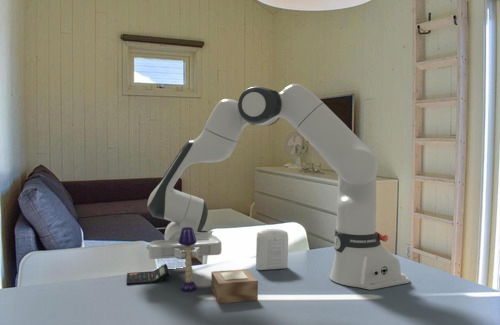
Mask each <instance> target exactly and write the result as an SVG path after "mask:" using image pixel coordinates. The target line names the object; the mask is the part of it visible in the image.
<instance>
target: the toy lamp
mask: <svg viewBox="0 0 500 325" xmlns="http://www.w3.org/2000/svg"><path fill="white" fill-rule="evenodd" d="M195 243H196V238H195V234H194V231H193V228H191V227H185V228H182V230H181V234H180V238H179V244H181V245H185V254H186V255H185V259H184V260H185V262H184V265H185V267H184V270H185V282H183V284H182V285H181V287H180V290H181V291H182V292H187V293H189V292H194V291H197V289H198V286H197V284H196V283H195V282H194V281H193V277H192V276H193V267H192V264H193V261H192V259H193V258H192V256H191V252H192V251H191V245H193V244H195Z"/></svg>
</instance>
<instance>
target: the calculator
mask: <svg viewBox="0 0 500 325" xmlns="http://www.w3.org/2000/svg"><path fill="white" fill-rule="evenodd" d="M126 273H127V274H126V286H135V285H151V284H157V283H160V282H161V281H162V280H165V279H166V278H168V277H170V276H171V275H170V271H169V268H168V265H167V263H164V264H162V265H161V266H160V267H159V266H158V268H156V269H155V270H153V271H152V270H151V271H137V272H126Z"/></svg>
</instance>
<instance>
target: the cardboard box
mask: <svg viewBox="0 0 500 325" xmlns="http://www.w3.org/2000/svg"><path fill="white" fill-rule="evenodd" d="M210 281H211V285H210V286H211V288H210V291H211V292H212V293H213V294H212V295H213V296H214V298H215V300H216V301H217V304H220V305H221V304H231V303H241V302H251V301H252V302H253V301H258V300H259V297H258V296H259V293H258V292H259V289H258V288H259V281H258V279H257V278H256V277H255V276H254V274H252V273H251V271H250V270H249V269H248V268H246V269H245V268H242V269H233V270H232V269H230V270H218V271H217V270H216V271H215V270H214V271H211V280H210Z"/></svg>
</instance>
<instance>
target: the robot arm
mask: <svg viewBox="0 0 500 325" xmlns="http://www.w3.org/2000/svg"><path fill="white" fill-rule="evenodd" d="M280 119H284V120H286V121H287V123H289V124H290V125H291V126H292V127H293V129H295V130H296V131H297V132H298V133H299V134H300V135H301V136H302V137H303V138H304V139H305V140H306V141H307V142H308V143H309V144H310V145H311V146H312V148H314V150H315V151H316V152H317V153H318V154H319V155H320V157H321V158H323V160H324V161H325V162H326V164H328V165H329V167H330V168H331V169H332V170H333V171H334V172H335V173H336V175H337V176H338V178H337V197H336V227H335V230H334V242H333V243H334V246H333V247H334V258H333V263H332V266H331V267H332V268H331V271H330V274H329V279H330V280H331V281H333V282H334V283H337V284H340V285H343V286H348V287H354V288H361V289H366V290H370V291H371V290H377V289H383V288H387V287H392V286H399V285H403V284H408V283H410V279H409V277H408V276H407V275H406V274H405V273H403V272H402V271H401V270H402V269H401V264H400V261H399V259H398V258H397V256H395V255H394V254H393V253H392V252H391V251H390V250H389V249H387V248H386V247H385V246H383V245H382V242H388V240H389V236H388V234H385V233H380V232H378V231H376V230H377V227H376V225H377V173H378V170H379V162H378V159H377V156H376V154H375V153H374V152H373V151H372V149H371V148H369V147H368V146H367V145H366V143H365V142H363V141H362V140H361V139H360V138H359V136H357V135H356V134H355V133H354V131H352V130H351V129H350V128H349V127H348V126H347V125H346V123H345V122H343V120H341V118H339V117H338V115H336V114H335V113H334V111H332V110H331V109H330V108H329V106H327V105H326V104H325V103H324V102H323V100H321V99H320V98H319V97H318V96H317V95H316V94H314V93H313V92H312V91H311V90H309V88H306V87H305V86H303V84H299V83H291V84H289V85H288V86H287V85H286V86H285V87H284V88H283V89H282V90H281V91H279V92H278V91H277V90H274V89H270V88H268V87H265V86H264V87H263V86H258V85H257V86H251V87H249V88H246V89H245V90H244V91H243V92H241V94H240V96H239V98H238V100H234V99H232V98H223V99H220V100H219V101H218V102H217V103H216V105H215V107H214V108H213V110H212V111H211V113H210V115H209V117H208V119H207V120H206V123H205V125H204V127H203V130H202V131H201V133H200V134H199V135H198V136H197V137H196V138H195V139H193V140H192V139H191V140H188V141H187V142H185V144H184V145H183V146H182V148H181V149H180V150H179V152H178V153H177V155H176V156H175V158H174V159H173V160H172V162H171V164H170V166H169V167H168V169H167V170H166V172H165V174H164V175H163V177H162V178H161V180H160V181H159V182H158V184H157V185H156V187H155V188H154V189H153V190H152V191H151V193H150V195H149V197H148V200H147V205H146V207H147V210H148V211H149V213H150V215H151V216H152V218H156V219H159V220H165V221H168V222H169V221H170V222H169V223H168V224H167V226H166V228H165V231H164V239H160V240H152V241H150V242H149V244H146V249H147V250H148V258H149V259H153V260H156V259H173V258H174V259H175V258H176V259H178V260H185V255H186V254H185V245H181V244H179V238H180V234H181V230H182V228H185V227H191V228H193V231H194V234H195V238H196V243H195V244H193V245H191V251H192V252H191V256H192V259H197V258H198V257H203V256H205V257H206V256H220V255H221V254H222V249H223V248H222V241H221V240H220V239H219V238H218V237H217V236H215V235H213V233H212V231H211V230H209V231H208V230H203V229H204V227H205V225H206V222H207V220H208V214H209V209H208V205H207V203H206V201H205V199H203V198H201V197H198V196H195V195H192V194H189V193H187V192H182V191H180V190H179V189H175V188H174V187H175V185H176V183H177V182H178V180H179V179H180V177H181V176H182V174H183V173H184V172H185V169H186V168H188V167H189V166H190V165H193V164H194V165H195V164H201V163H202V164H203V163H212V164H213V163H219V162H220V163H221V162H222V161H225V160H226V159H228V158H230V157H231V155H232V154H233V153H234V150H235V148H236V146H237V145H238V141H239V139H240V138H241V134H242V132H243V131H244V129H245V128H246V127H247V126H249V125H252V126H253V125H254V126H259V127H266V126H267V127H268V126H271V125H273V124H275V123H277V122H278V120H280ZM381 241H382V242H381Z"/></svg>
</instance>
